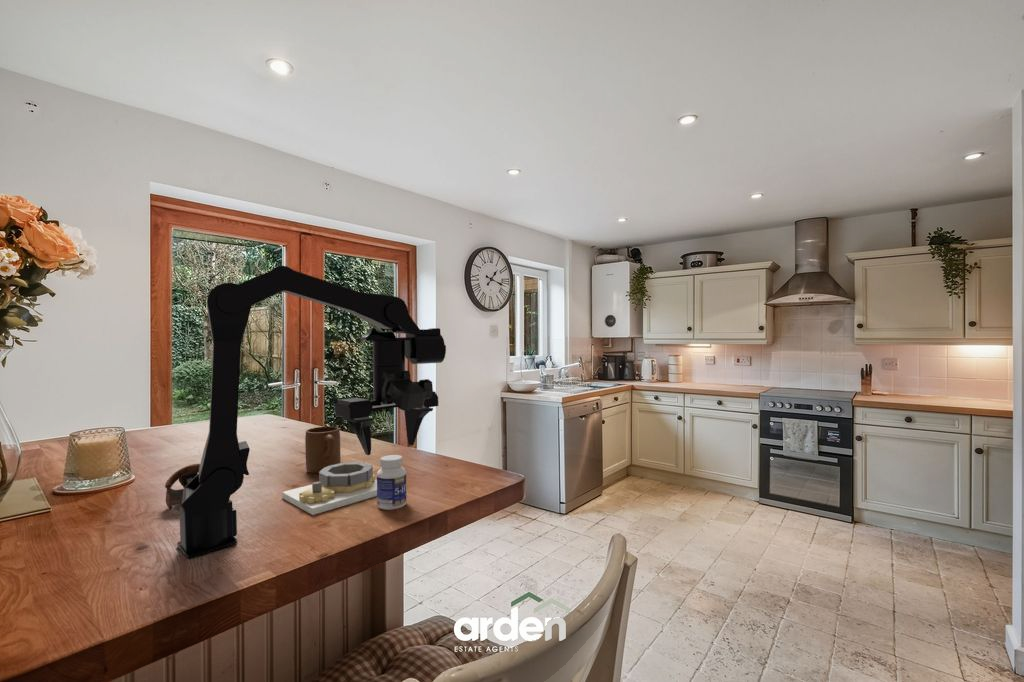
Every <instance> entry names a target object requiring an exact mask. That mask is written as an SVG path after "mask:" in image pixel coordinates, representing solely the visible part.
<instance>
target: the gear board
mask: <svg viewBox="0 0 1024 682" xmlns="http://www.w3.org/2000/svg"><path fill="white" fill-rule="evenodd" d="M373 468H374V467H373V464H369V463H366V462H362V461H356V462H355V461H353V462H348V461H347V462H346V461H345V462H341V463H339V464H335V465H331V466H327V467H324V468H323V469H322V470H321V471H320V472H319V473H318V481H314V482H312V484H308V485H305V486H300V487H296V488H292V489H288V490H286V491H281V499H283V500H285V501H287V502H289V503H290V504H292V505H294V506H296V507H297V508H298V509H301V510H303V511H305V512H306V513H307V514H310V515H312V516H315V515H317V514H321V513H325V512H328V511H331V510H334V509H337V508H342V507H345V506H348V505H351V504H355V503H358V502H362V501H364V500H369V499H371V498H375V497H377V479H376V477H375V474H374V472H373V470H374V469H373Z"/></svg>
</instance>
